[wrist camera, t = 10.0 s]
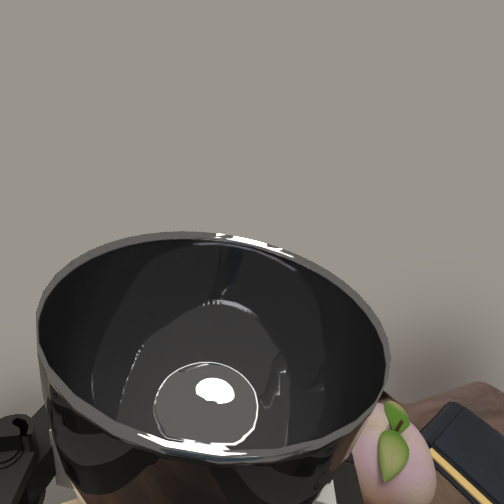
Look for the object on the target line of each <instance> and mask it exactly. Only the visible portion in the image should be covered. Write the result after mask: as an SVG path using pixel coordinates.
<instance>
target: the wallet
mask: <svg viewBox="0 0 504 504" xmlns="http://www.w3.org/2000/svg"><path fill="white" fill-rule="evenodd" d="M420 434H421V435H422V436H423V438H424V439H425V441H426V443H427V445H428V447H429V449H430V452H431V455H432V458H433V462H434V466H435V469H436V470H437V471H438V472H440V473H441V474H442V475H443V476H444V477H445V478H446V479H447V480H448V481H449V482H450V483H451V484H452V485H453V486H454V487H455V488H456V489H457V490H458V491H459V492H460V493H461V494H462V495H464V496H465V497H466V498H467V499H468V500H469V501H470V502H471V503H472V504H504V436H503V435H502V434H500V433H499V432H498V431H496V430H495V429H494V428H492V427H491V426H490V425H488V424H487V423H486V422H484V421H483V420H482V419H480V418H479V417H478V416H476V415H475V414H474V413H472V412H471V411H470V410H468V409H467V408H466V407H463V406H462V405H460V404H459V403H457V402H449V403H447V404H446V405H445V406H444V407H443V408H442V409H441V410H440V411H439V413H438V414H437V415H436V416H435V417H434V418H433V419H432V420H431V421H430V422H429V423H428V424H427V425H426V426H425V427H424V428H423V429H422V430H421V431H420Z"/></svg>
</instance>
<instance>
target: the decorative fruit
mask: <svg viewBox="0 0 504 504" xmlns="http://www.w3.org/2000/svg"><path fill="white" fill-rule="evenodd" d="M351 452H352V454H353V458H354V465H355V467H356V471H357V475H358V480H359V484H360V488H361V493H362V497H363V501H364V504H430V503H431V501H432V499H433V497H434V494H435V491H436V472H435V466H434V462H433V458H432V455H431V452H430V449H429V447H428V445H427V443H426V441H425V439H424V438H423V436H422V435H421V434H420V432H419V431H418V430H417V429H416V427H415V426H414V425H413V424H412V423H410V420H409V418H408V415H407V414H406V412H405V411H404V409H403V408H402V407H400V406H399V405H398V404H396V403H395V402H393V401H387V402H386V403H385V405H384V404H380V403H377V404H376V406H375V408H374V410H373V412H372V414H371V416H370V418H369V419H368V421H367V423H366V425H365V427H364V429H363V431H362V433H361V434H360V436H359V438H358V440H357V442H356V444H355V446H354V447H353V449H352V451H351Z"/></svg>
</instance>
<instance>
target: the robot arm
mask: <svg viewBox="0 0 504 504" xmlns="http://www.w3.org/2000/svg"><path fill="white" fill-rule="evenodd" d="M54 476H56V484H57V485H60V486H64V487H68V488H71V489H73V487H72V485H71V483H70V481H69V479H68V477H67V475H66V473H65V471H64V468H63V466H62V463H61V460H60V457H59V454H58V451H57V449H56V446H55V443H54V440H53V436H52V432H51V427H50V423H49V419H48V415H47V411H46V407H45V404H44V405H43V406H42V407H41V408H40V409H39V410H38V411H37V413H36V414H35V415H34V416H33V417H32V418H31V417H29V416H27V415H24V414H15V415H10V416H6V417H3V418H1V419H0V504H43V501H44V497H45V492H46V490H45V488H46V487H47V486H48V485H49V483H50V482H51V480H52V479H53V477H54ZM313 504H364V501H363V497H362V493H361V488H360V484H359V480H358V475H357V471H356V467H355V465H354V458H353V454H352V452H351V453H350V454H349V456H348V457H347V459H346V460H345V462H344V463H343V465H342V466H341V468H340V469H339V471H338V472H337V474H336V475H335V477H334V478H333V480H332V481H331V483H330V484H329V486H328V487H327V488H326V489H325V490H324V491H323V493H322V494H321V495H320V496H319V497H318V498H317V499H316V500H315V502H314V503H313Z"/></svg>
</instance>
